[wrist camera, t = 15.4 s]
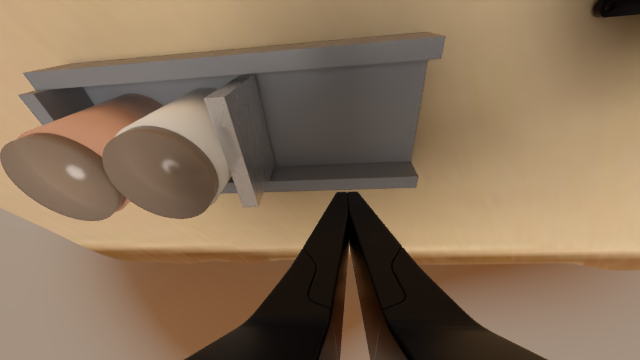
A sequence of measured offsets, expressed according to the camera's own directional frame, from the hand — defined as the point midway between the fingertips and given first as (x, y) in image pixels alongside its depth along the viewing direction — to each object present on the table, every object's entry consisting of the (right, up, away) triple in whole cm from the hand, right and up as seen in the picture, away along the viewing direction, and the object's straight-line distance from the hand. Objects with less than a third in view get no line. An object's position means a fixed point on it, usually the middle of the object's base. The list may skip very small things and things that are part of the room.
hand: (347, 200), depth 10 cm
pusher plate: (-5, +5, +7) cm, 10 cm away
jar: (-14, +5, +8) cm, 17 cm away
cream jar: (-9, +5, +8) cm, 13 cm away
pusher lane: (-6, +5, +8) cm, 12 cm away
